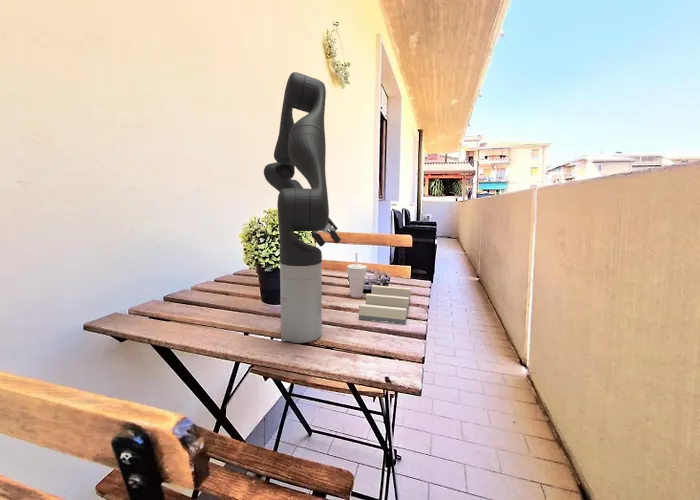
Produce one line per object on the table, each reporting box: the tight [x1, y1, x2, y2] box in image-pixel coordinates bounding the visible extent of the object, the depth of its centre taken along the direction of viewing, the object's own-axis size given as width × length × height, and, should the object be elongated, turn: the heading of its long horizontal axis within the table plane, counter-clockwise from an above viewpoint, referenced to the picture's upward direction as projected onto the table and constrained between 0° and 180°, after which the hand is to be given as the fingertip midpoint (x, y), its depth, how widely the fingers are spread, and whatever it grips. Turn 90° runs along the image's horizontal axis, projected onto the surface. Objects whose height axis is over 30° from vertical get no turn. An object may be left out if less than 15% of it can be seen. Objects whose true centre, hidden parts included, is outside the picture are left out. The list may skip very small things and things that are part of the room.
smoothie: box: [346, 252, 368, 299], centre depth 106 cm, size 6×6×14 cm
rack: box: [358, 284, 412, 324], centre depth 96 cm, size 20×12×4 cm, turn 166°
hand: (331, 243), depth 110 cm, fingers open, 8 cm apart
